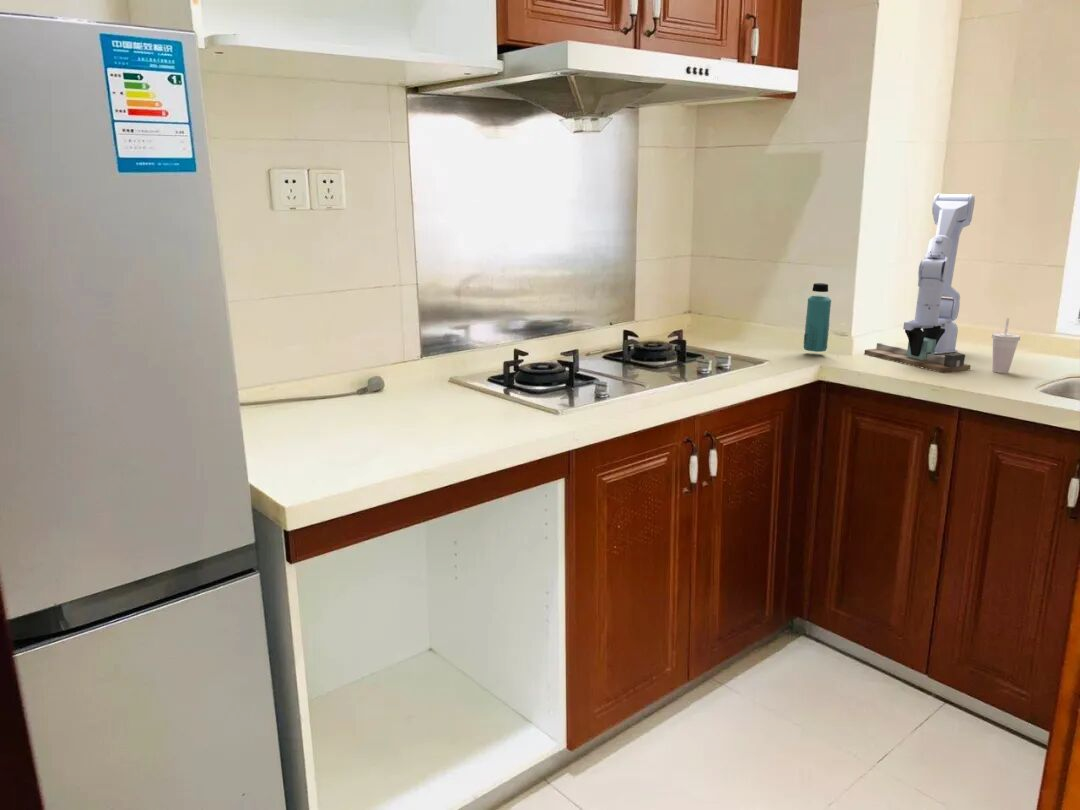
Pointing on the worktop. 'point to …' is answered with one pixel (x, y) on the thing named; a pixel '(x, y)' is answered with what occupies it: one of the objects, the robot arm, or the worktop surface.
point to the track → (931, 362)
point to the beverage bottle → (817, 320)
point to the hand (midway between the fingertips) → (921, 354)
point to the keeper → (924, 349)
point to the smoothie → (1003, 350)
